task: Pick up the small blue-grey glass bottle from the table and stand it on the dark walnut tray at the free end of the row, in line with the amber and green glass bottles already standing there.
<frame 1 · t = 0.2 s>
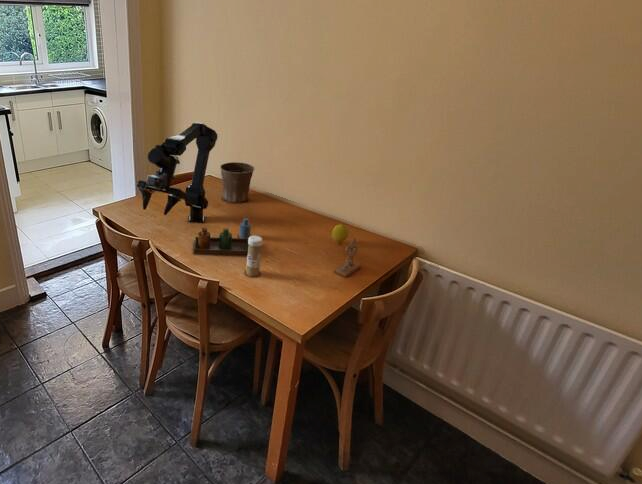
hand: (154, 212, 150), 15 cm above the table, tool tilted 30°, fingers open, 9 cm apart
lemon: (338, 243, 159), on the table
blue bottle: (244, 237, 164), on the table
amber bottle: (204, 246, 156), resting on tray
grey statuette: (347, 270, 141), on the table
plant pot: (235, 199, 202), on the table
tray: (225, 248, 156), on the table
sprinkles bottle: (252, 273, 140), on the table
green bottle: (225, 247, 155), resting on tray
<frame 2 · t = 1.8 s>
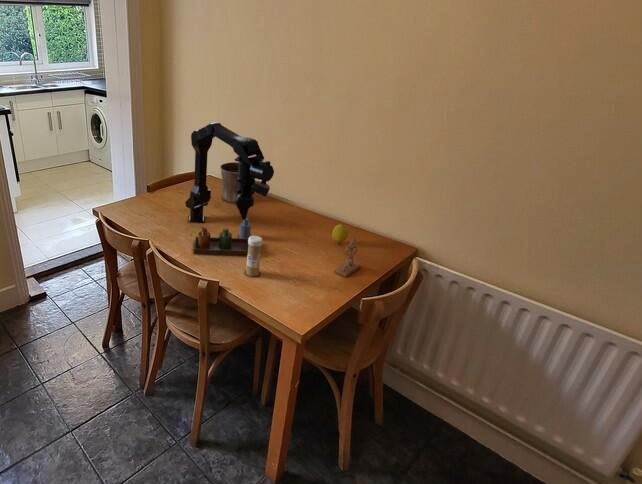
hand: (244, 214, 154), 12 cm above the table, tool pointing down, fingers open, 9 cm apart
nothing on the table moved.
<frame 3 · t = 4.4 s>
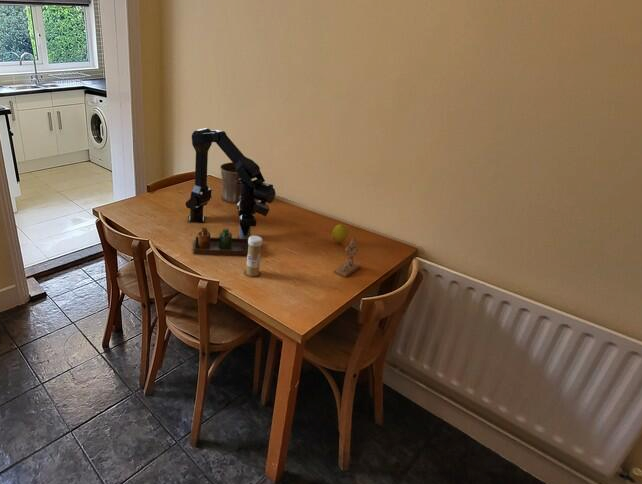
hand: (244, 232, 163), 2 cm above the table, tool pointing down, fingers closed on blue bottle, 4 cm apart
blue bottle: (244, 237, 164), on the table, touching gripper
everything else where it was.
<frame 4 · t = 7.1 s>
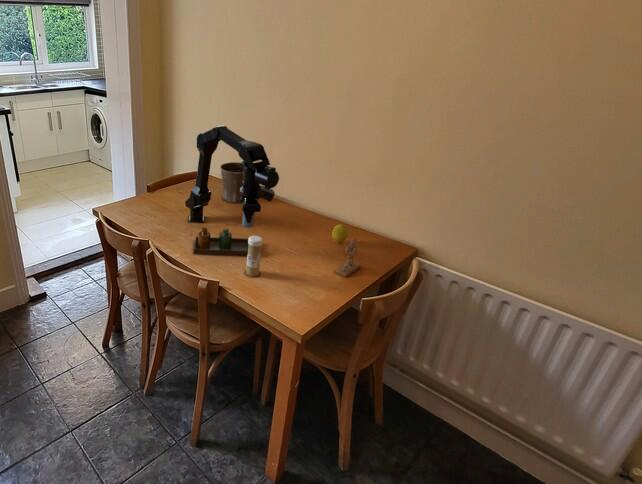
hand: (248, 220, 151), 11 cm above the table, tool pointing down, fingers closed on blue bottle, 4 cm apart
blue bottle: (247, 225, 152), point 9 cm above the table, touching gripper
everything else where it was.
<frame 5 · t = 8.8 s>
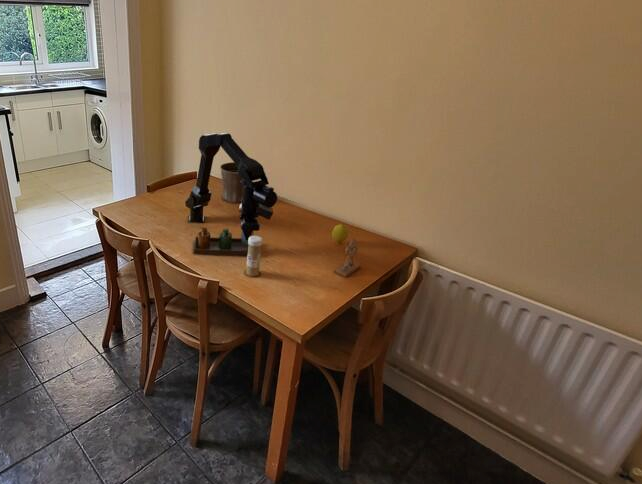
hand: (247, 237, 153), 5 cm above the table, tool pointing down, fingers closed on blue bottle, 4 cm apart
blue bottle: (246, 242, 154), point 3 cm above the table, touching gripper
everything else where it was.
when the fingers open (2 cm above the table, at t = 10.0 s): blue bottle stays where it is, resting on tray.
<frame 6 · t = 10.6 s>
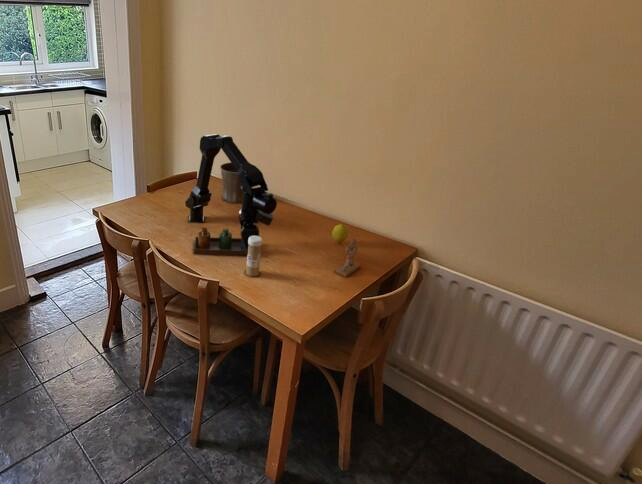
hand: (246, 242, 154), 3 cm above the table, tool pointing down, fingers open, 9 cm apart
blue bottle: (246, 248, 155), resting on tray
everything else where it was.
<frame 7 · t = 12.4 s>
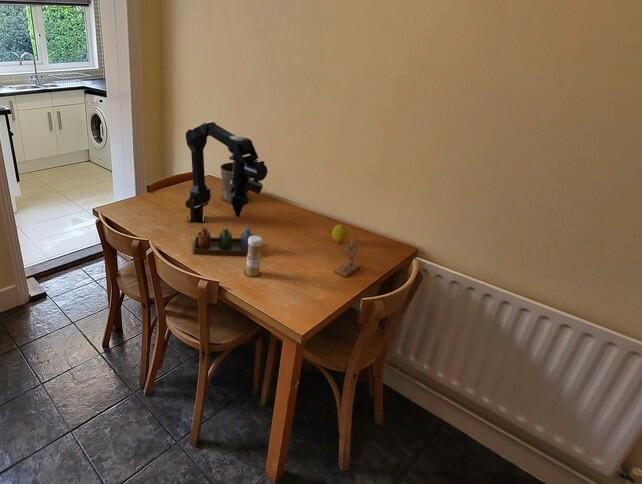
hand: (237, 211, 158), 12 cm above the table, tool pointing down, fingers open, 9 cm apart
nothing on the table moved.
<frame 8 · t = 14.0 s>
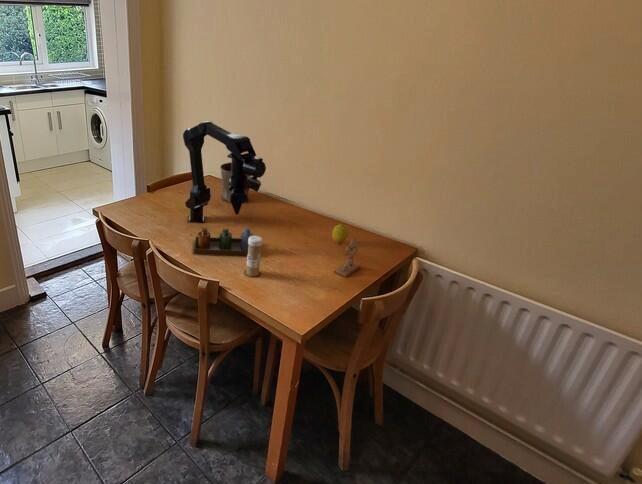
hand: (236, 209, 159), 12 cm above the table, tool pointing down, fingers open, 9 cm apart
nothing on the table moved.
at the end: blue bottle 0.1 cm from the target spot in the tray, point 0.5 cm above the tray's base; blue bottle tilted 0°; green bottle moved 0.0 cm from its start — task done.
